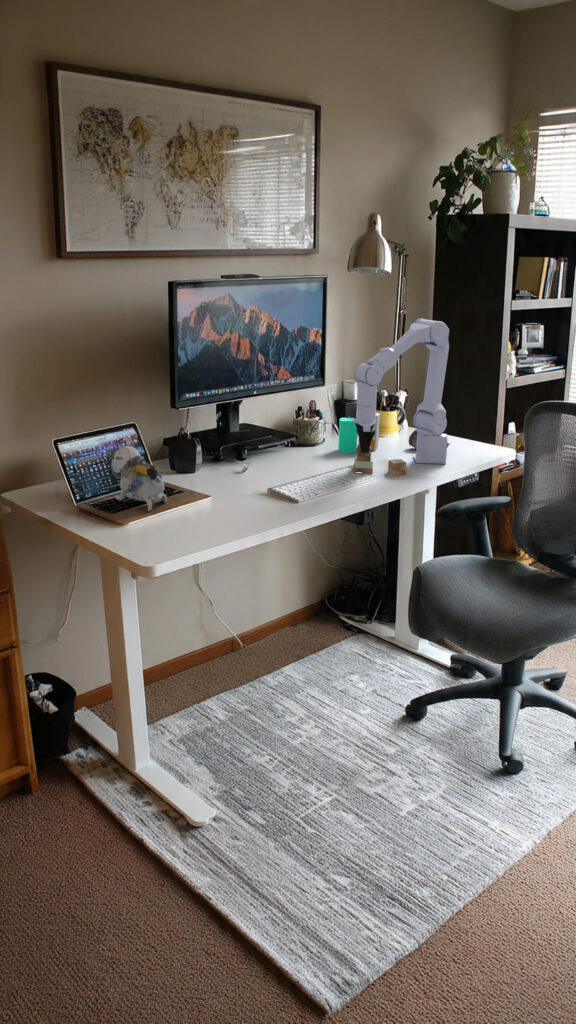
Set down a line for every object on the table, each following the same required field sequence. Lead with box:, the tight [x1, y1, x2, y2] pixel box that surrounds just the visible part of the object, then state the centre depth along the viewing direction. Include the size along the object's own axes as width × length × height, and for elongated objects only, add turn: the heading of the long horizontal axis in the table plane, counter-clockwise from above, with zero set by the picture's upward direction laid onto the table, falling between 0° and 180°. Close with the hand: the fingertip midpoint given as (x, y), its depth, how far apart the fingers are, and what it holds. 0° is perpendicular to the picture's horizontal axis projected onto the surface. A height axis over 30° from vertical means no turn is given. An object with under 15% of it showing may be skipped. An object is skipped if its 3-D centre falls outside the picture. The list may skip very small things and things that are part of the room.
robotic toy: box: [107, 445, 168, 511], centre depth 218 cm, size 13×17×15 cm
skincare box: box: [357, 412, 381, 452], centre depth 277 cm, size 6×4×12 cm
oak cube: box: [387, 458, 408, 477], centre depth 251 cm, size 4×4×4 cm
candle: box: [337, 417, 358, 454], centre depth 274 cm, size 6×6×12 cm
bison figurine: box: [408, 429, 451, 449], centre depth 277 cm, size 12×7×10 cm
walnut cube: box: [356, 444, 372, 462], centre depth 252 cm, size 4×4×4 cm
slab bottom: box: [353, 463, 374, 475], centre depth 253 cm, size 6×6×2 cm
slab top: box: [353, 456, 374, 468], centre depth 253 cm, size 5×5×2 cm
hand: (364, 449), depth 251 cm, fingers open, 6 cm apart
